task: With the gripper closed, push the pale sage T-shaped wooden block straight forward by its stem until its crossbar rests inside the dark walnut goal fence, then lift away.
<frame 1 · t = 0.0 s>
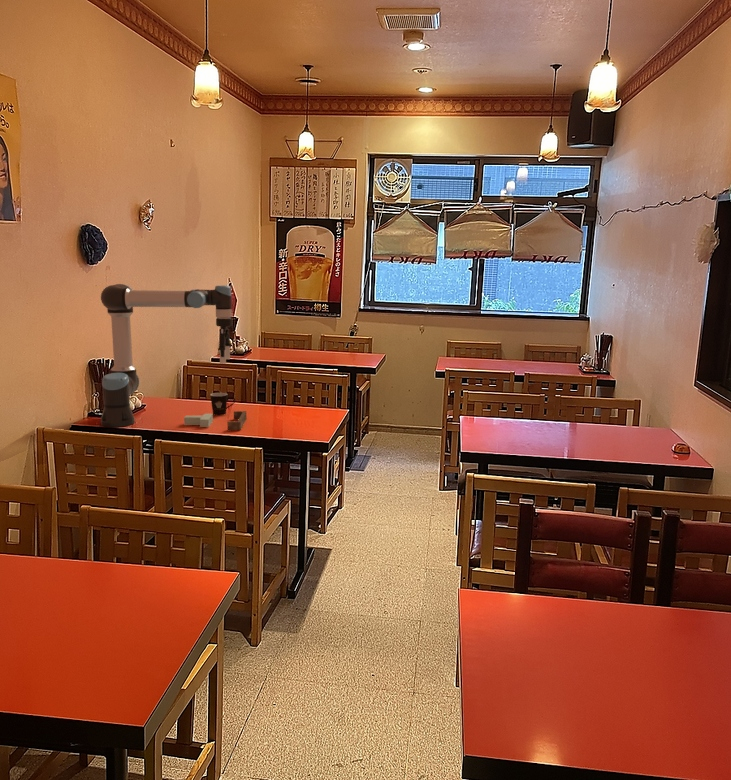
hand: (225, 361, 341), 28 cm above the table, fingers open, 13 cm apart
coffee mug: (222, 414, 353), on the table
goal fence: (234, 424, 331), on the table
tee block: (198, 424, 331), on the table
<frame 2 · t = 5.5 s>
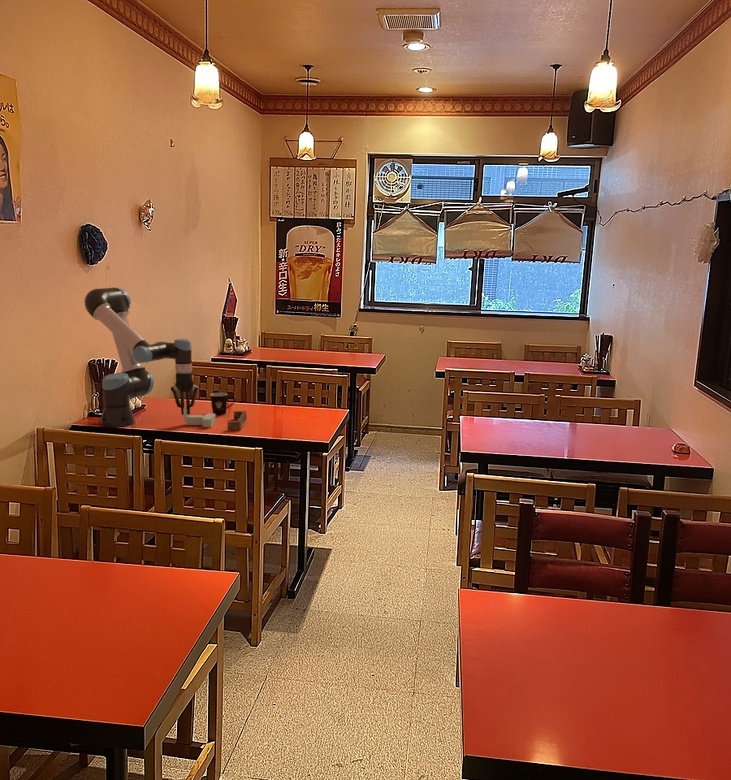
hand: (186, 421, 330), 2 cm above the table, fingers closed
tee block: (200, 424, 331), on the table, touching gripper
everything else where it was.
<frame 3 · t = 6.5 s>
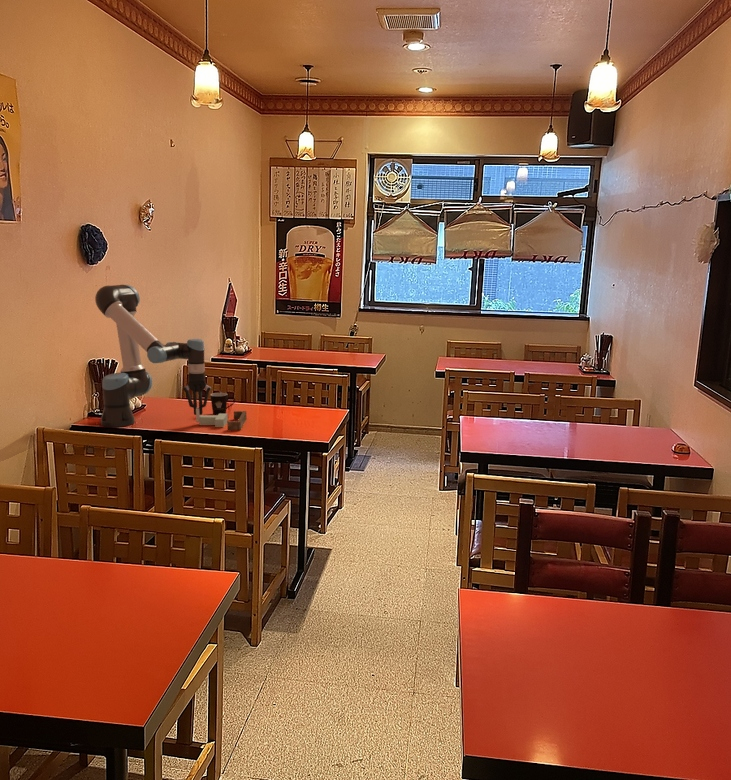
hand: (198, 421, 330), 2 cm above the table, fingers closed
tee block: (213, 424, 331), on the table, touching gripper
everything else where it was.
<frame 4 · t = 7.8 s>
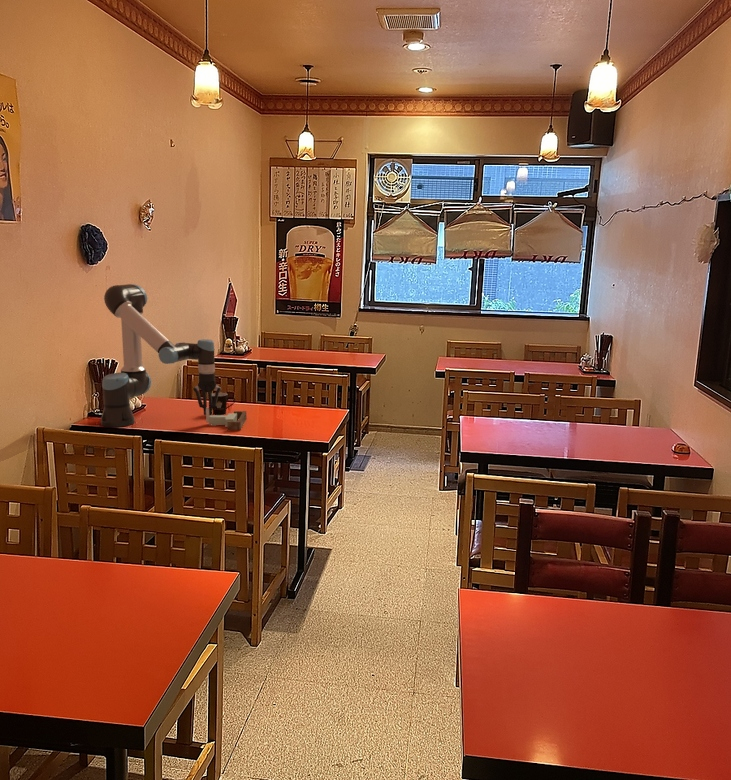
hand: (208, 421, 330), 1 cm above the table, fingers closed
tee block: (222, 424, 331), on the table, touching gripper
everything else where it was.
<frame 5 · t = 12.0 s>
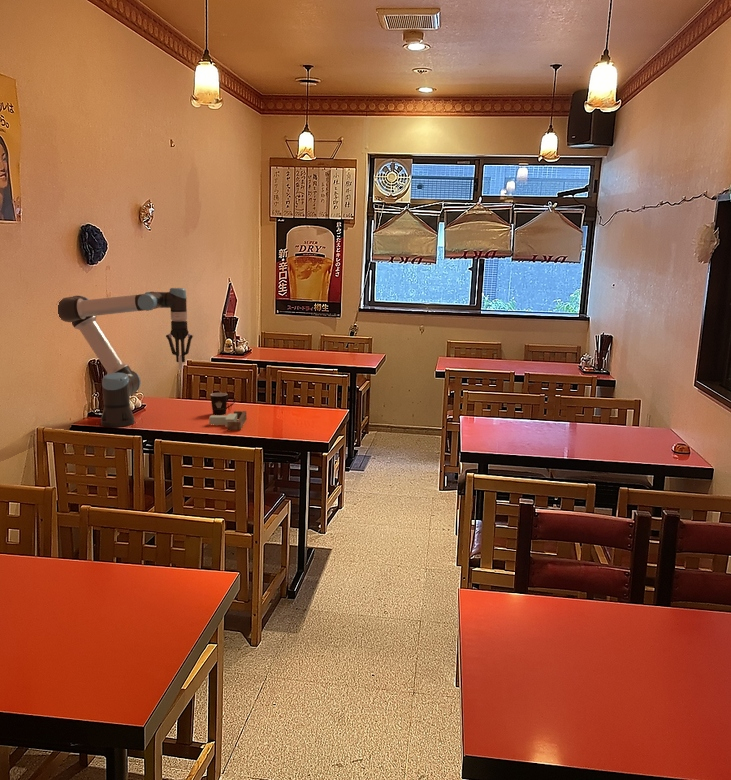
hand: (180, 368, 339), 24 cm above the table, fingers closed
tee block: (222, 424, 331), on the table
everything else where it was.
at the end: tee block inside the target area (1.4 cm from its centre), on the table; tee block moved 11.6 cm from its start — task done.
